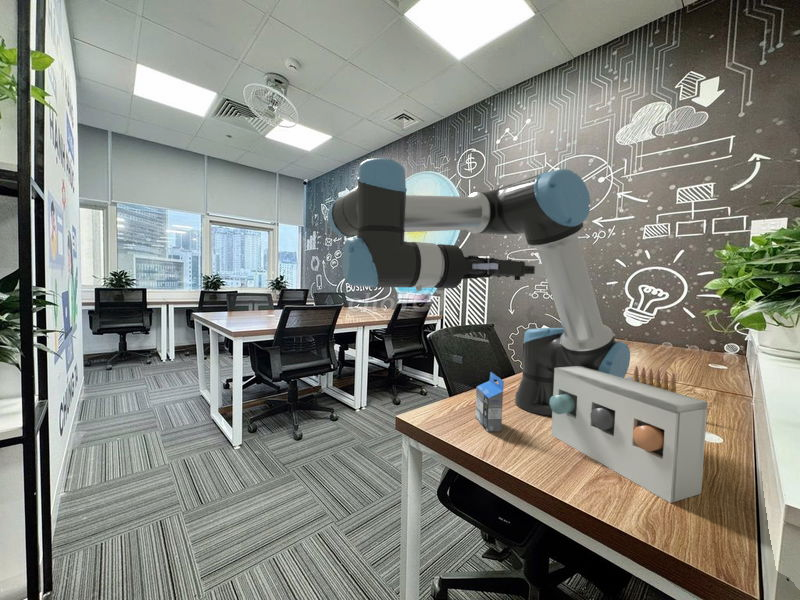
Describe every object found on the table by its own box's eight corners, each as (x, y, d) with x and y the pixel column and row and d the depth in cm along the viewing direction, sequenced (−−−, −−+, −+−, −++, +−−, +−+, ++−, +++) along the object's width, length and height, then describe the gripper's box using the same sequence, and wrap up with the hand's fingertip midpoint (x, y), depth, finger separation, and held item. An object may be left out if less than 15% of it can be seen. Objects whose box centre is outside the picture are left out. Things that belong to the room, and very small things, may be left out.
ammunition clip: (676, 415, 91) (678, 372, 90) (674, 416, 90) (676, 373, 89) (631, 403, 99) (634, 364, 99) (629, 404, 98) (631, 365, 98)
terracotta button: (632, 444, 58) (633, 422, 58) (643, 442, 59) (645, 420, 59) (656, 455, 54) (657, 432, 54) (668, 453, 55) (669, 429, 55)
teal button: (549, 410, 73) (550, 392, 73) (559, 408, 74) (560, 391, 74) (563, 417, 69) (564, 398, 69) (574, 415, 70) (575, 397, 70)
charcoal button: (589, 424, 66) (590, 405, 66) (600, 423, 67) (601, 403, 67) (608, 433, 62) (609, 412, 62) (619, 431, 63) (620, 411, 63)
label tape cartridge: (474, 417, 86) (476, 371, 85) (488, 416, 86) (490, 371, 85) (486, 432, 77) (488, 381, 76) (502, 432, 77) (504, 381, 77)
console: (551, 435, 76) (554, 367, 75) (576, 430, 79) (580, 365, 78) (670, 503, 53) (676, 406, 52) (701, 493, 55) (707, 401, 55)
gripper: (418, 287, 61) (517, 289, 70) (453, 288, 49) (568, 290, 58) (419, 247, 61) (519, 254, 70) (455, 239, 49) (570, 248, 57)
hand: (541, 271), depth 64 cm, fingers closed
